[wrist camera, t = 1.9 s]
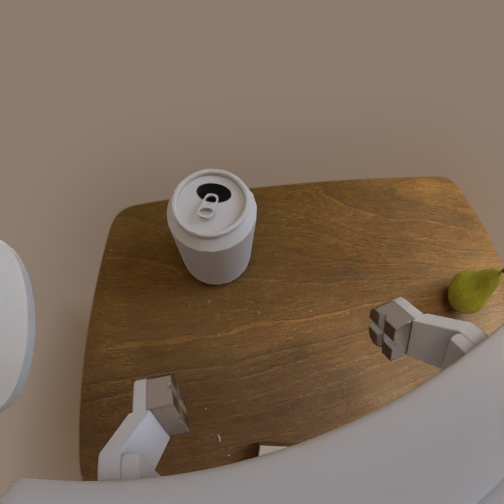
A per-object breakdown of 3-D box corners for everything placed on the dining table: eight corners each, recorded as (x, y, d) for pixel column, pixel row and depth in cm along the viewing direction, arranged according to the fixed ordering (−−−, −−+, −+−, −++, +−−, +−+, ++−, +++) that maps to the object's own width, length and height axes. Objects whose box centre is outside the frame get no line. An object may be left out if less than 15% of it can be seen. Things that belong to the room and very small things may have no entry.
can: (255, 232, 35) (266, 170, 24) (242, 293, 32) (247, 252, 21) (194, 219, 35) (179, 155, 24) (176, 278, 33) (149, 232, 21)
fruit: (473, 301, 34) (531, 274, 22) (453, 327, 32) (517, 305, 21) (453, 270, 35) (509, 235, 24) (432, 294, 34) (493, 262, 23)
